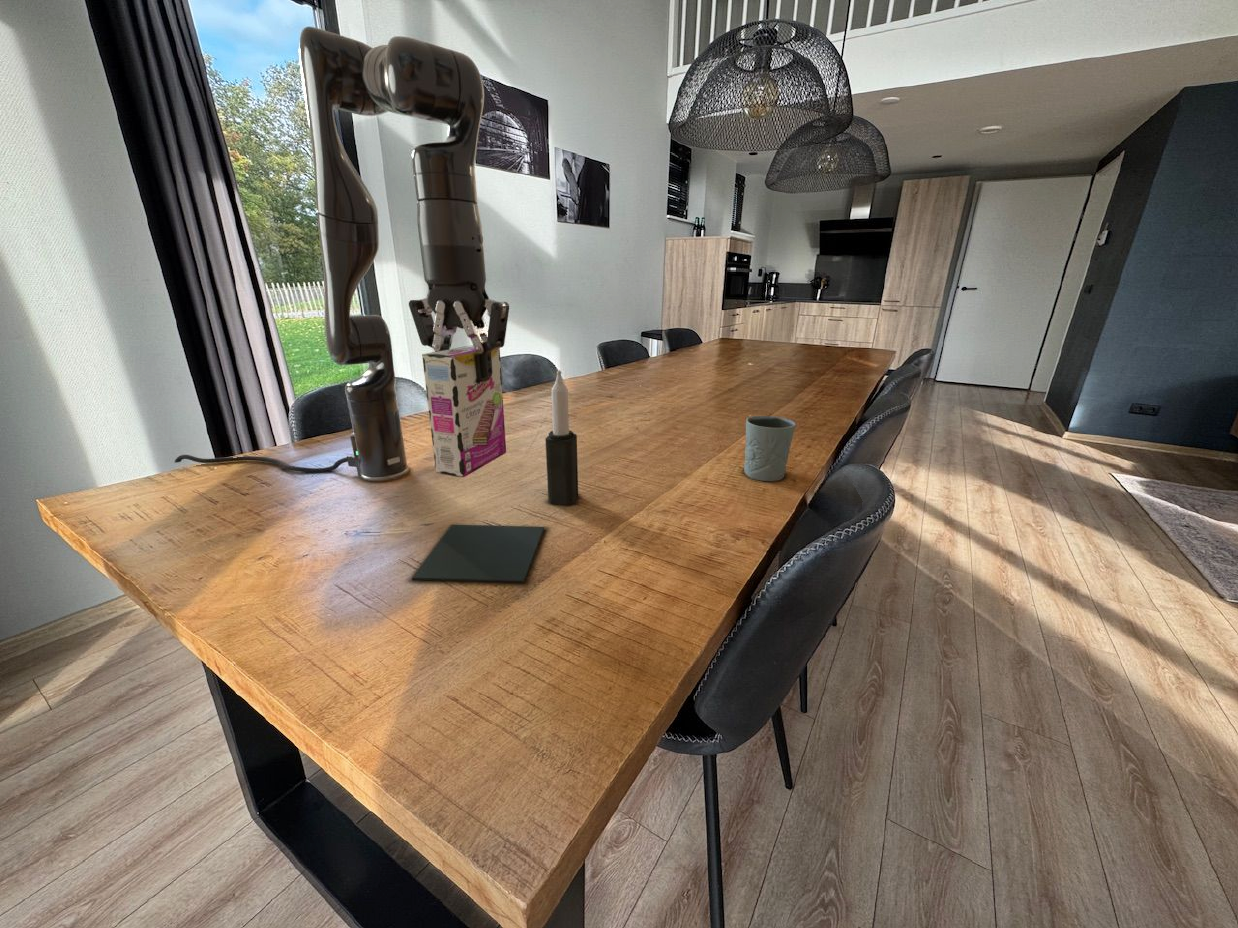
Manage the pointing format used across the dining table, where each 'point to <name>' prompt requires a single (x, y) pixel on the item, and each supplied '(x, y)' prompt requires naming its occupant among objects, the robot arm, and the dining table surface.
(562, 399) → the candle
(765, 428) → the grey green embossed cup
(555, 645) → the dining table surface
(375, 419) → the robot arm
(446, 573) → the mat
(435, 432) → the candy bar box
